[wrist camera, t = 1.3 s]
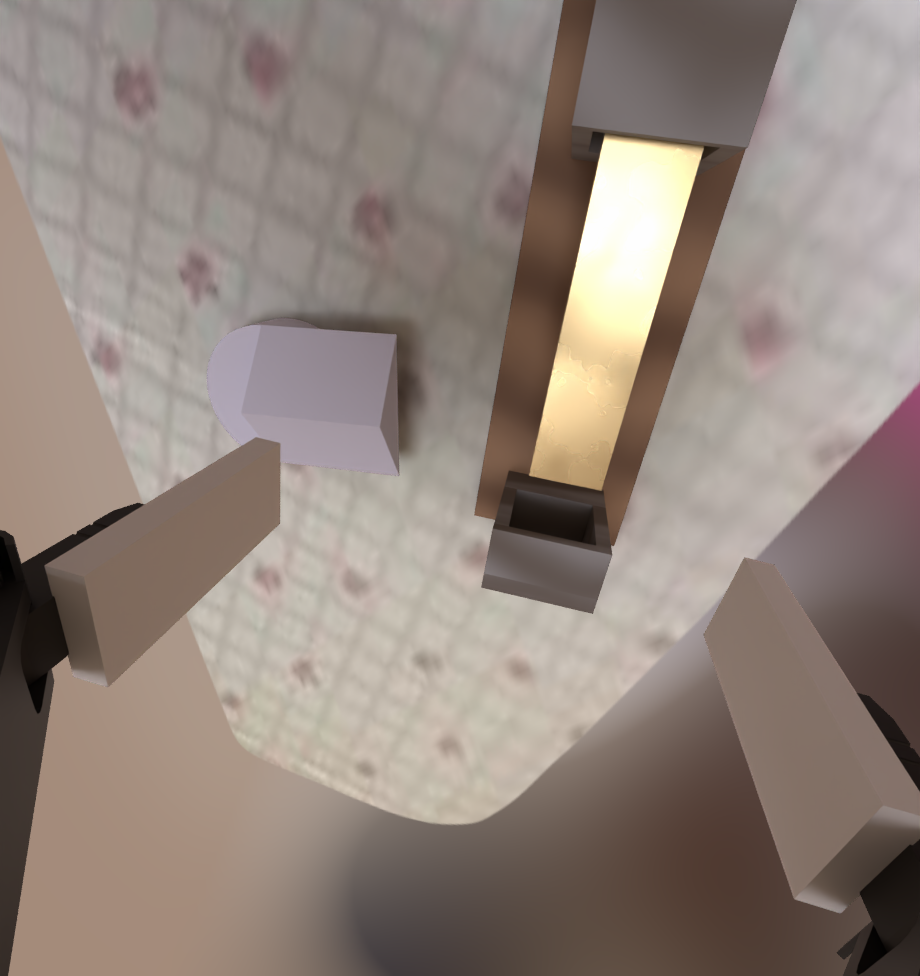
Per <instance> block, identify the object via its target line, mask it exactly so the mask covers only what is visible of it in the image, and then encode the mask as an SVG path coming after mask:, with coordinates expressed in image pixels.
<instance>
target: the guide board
mask: <svg viewBox="0 0 920 976" xmlns="http://www.w3.org/2000/svg"><path fill="white" fill-rule="evenodd" d="M796 1H797V0H564V2H563V8H562V13H561V19H560V25H559V31H558V36H557V42H556V48H555V54H554V59H553V65H552V71H551V77H550V82H549V88H548V94H547V100H546V106H545V111H544V117H543V123H542V129H541V134H540V140H539V146H538V152H537V157H536V163H535V169H534V175H533V180H532V186H531V192H530V198H529V203H528V209H527V215H526V221H525V226H524V232H523V238H522V244H521V249H520V255H519V261H518V267H517V272H516V278H515V284H514V290H513V295H512V301H511V307H510V313H509V319H508V324H507V330H506V336H505V342H504V347H503V353H502V359H501V365H500V370H499V376H498V382H497V388H496V393H495V399H494V405H493V411H492V416H491V422H490V428H489V434H488V439H487V445H486V451H485V457H484V462H483V468H482V474H481V480H480V485H479V491H478V497H477V503H476V509H475V514H474V515H476V516H481V517H485V518H490V519H494V520H495V523H494V526H493V530H492V535H491V540H490V546H489V551H488V556H487V561H486V566H485V571H484V576H483V581H482V586H481V587H482V588H486V589H490V590H495V591H499V592H503V593H507V594H511V595H516V596H520V597H524V598H528V599H533V600H537V601H541V602H545V603H549V604H554V605H558V606H562V607H566V608H571V609H575V610H579V611H583V612H588V613H592V614H593V611H594V608H595V605H596V602H597V599H598V596H599V593H600V590H601V587H602V584H603V581H604V578H605V575H606V572H607V569H608V566H609V563H610V560H611V557H612V550H611V545H612V546H614V545H615V542H616V539H617V536H618V532H619V529H620V526H621V523H622V520H623V517H624V514H625V511H626V508H627V505H628V502H629V499H630V496H631V493H632V490H633V487H634V484H635V481H636V478H637V475H638V472H639V469H640V466H641V463H642V460H643V457H644V454H645V451H646V448H647V445H648V442H649V439H650V436H651V433H652V430H653V427H654V424H655V421H656V418H657V415H658V412H659V409H660V406H661V403H662V400H663V397H664V394H665V391H666V388H667V384H668V381H669V378H670V375H671V372H672V369H673V366H674V363H675V360H676V357H677V354H678V351H679V348H680V345H681V342H682V339H683V336H684V333H685V330H686V327H687V324H688V321H689V318H690V315H691V312H692V309H693V306H694V303H695V300H696V297H697V294H698V291H699V288H700V285H701V282H702V279H703V276H704V273H705V270H706V267H707V264H708V261H709V258H710V255H711V252H712V249H713V246H714V243H715V240H716V237H717V233H718V230H719V227H720V224H721V221H722V218H723V215H724V212H725V209H726V206H727V203H728V200H729V197H730V194H731V191H732V188H733V185H734V182H735V179H736V176H737V173H738V170H739V167H740V164H741V161H742V158H743V155H744V152H745V149H746V148H748V145H749V142H750V139H751V136H752V133H753V130H754V127H755V124H756V121H757V118H758V115H759V112H760V109H761V106H762V103H763V100H764V97H765V94H766V91H767V88H768V85H769V82H770V79H771V76H772V73H773V70H774V67H775V64H776V61H777V58H778V55H779V52H780V49H781V46H782V43H783V40H784V37H785V34H786V31H787V28H788V25H789V22H790V19H791V16H792V13H793V10H794V7H795V4H796ZM604 133H610V134H617V135H625V136H633V137H641V138H649V139H657V140H665V141H672V142H680V143H688V144H696V145H704V149H703V152H702V156H701V159H700V162H699V166H698V169H697V172H696V176H695V179H694V183H693V186H692V189H691V193H690V196H689V199H688V203H687V206H686V209H685V213H684V216H683V219H682V223H681V226H680V229H679V233H678V236H677V239H676V243H675V246H674V249H673V253H672V256H671V259H670V263H669V266H668V269H667V273H666V276H665V279H664V283H663V286H662V289H661V293H660V296H659V299H658V303H657V306H656V309H655V313H654V316H653V320H652V323H651V326H650V330H649V333H648V336H647V340H646V343H645V346H644V350H643V353H642V356H641V360H640V363H639V366H638V370H637V373H636V376H635V380H634V383H633V386H632V390H631V393H630V396H629V400H628V403H627V406H626V410H625V413H624V416H623V420H622V423H621V426H620V430H619V433H618V436H617V440H616V443H615V446H614V450H613V453H612V457H611V460H610V463H609V467H608V470H607V473H606V477H605V480H604V483H603V487H602V490H601V491H600V490H595V489H591V488H586V487H581V486H576V485H571V484H567V483H562V482H557V481H552V480H547V479H543V478H538V477H533V476H529V474H530V468H531V463H532V457H533V452H534V447H535V442H536V438H537V433H538V429H539V424H540V420H541V415H542V411H543V406H544V402H545V397H546V392H547V388H548V383H549V379H550V374H551V370H552V365H553V361H554V356H555V352H556V347H557V343H558V338H559V334H560V329H561V325H562V320H563V316H564V311H565V306H566V302H567V297H568V293H569V288H570V284H571V279H572V275H573V270H574V266H575V261H576V257H577V252H578V248H579V243H580V239H581V234H582V230H583V225H584V221H585V216H586V211H587V207H588V202H589V198H590V193H591V189H592V184H593V180H594V175H595V171H596V166H597V162H598V157H599V153H600V148H601V144H602V139H603V135H604Z"/></svg>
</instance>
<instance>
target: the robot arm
mask: <svg viewBox="0 0 920 976" xmlns="http://www.w3.org/2000/svg"><path fill="white" fill-rule="evenodd" d="M279 524H280V443H278V442H274V441H270V440H266V439H262V438H258V437H255V438H254V439H252V440H250V441H249V442H247V443H245V444H244V445H242V446H240V447H239V448H237V449H236V450H234V451H232V452H231V453H229V454H227V455H226V456H224V457H222V458H221V459H219V460H217V461H216V462H214V463H212V464H211V465H209V466H208V467H206V468H204V469H203V470H201V471H199V472H198V473H196V474H194V475H193V476H191V477H189V478H188V479H186V480H184V481H183V482H181V483H179V484H178V485H176V486H175V487H173V488H171V489H170V490H168V491H166V492H165V493H163V494H161V495H160V496H158V497H156V498H155V499H153V500H151V501H150V502H148V503H147V504H141V503H136V504H133V505H130V506H127V507H123V508H121V509H117V510H114V511H112V512H110V513H108V514H107V515H105V516H103V517H102V518H100V519H98V520H96V521H95V522H94V523H93V525H88V526H86V527H84V528H82V529H81V530H79V531H77V534H76V535H74V534H72V535H70V536H69V537H67V538H65V539H63V540H62V541H60V542H58V543H57V544H55V545H53V546H51V547H50V548H48V549H46V550H45V551H43V552H41V553H39V554H38V555H36V556H35V557H32V558H31V559H29V560H27V561H26V562H24V563H22V564H21V561H20V558H19V554H18V551H17V547H16V544H15V540H14V537H13V536H12V535H10V534H9V533H7V532H6V531H2V530H0V976H8V972H9V966H10V960H11V953H12V947H13V941H14V940H13V939H14V934H15V928H16V921H17V915H18V909H19V902H20V896H21V890H22V883H23V876H24V870H25V864H26V857H27V851H28V845H29V838H30V832H31V826H32V819H33V813H34V807H35V800H36V794H37V787H38V781H39V774H40V768H41V762H42V756H43V749H44V743H45V736H46V730H47V723H48V717H49V711H50V704H51V698H52V692H53V685H54V678H53V673H52V668H53V667H54V666H55V665H57V664H58V663H59V662H60V661H61V660H63V659H64V658H65V657H66V656H67V655H68V658H69V662H70V665H71V669H72V673H73V677H76V678H79V679H82V680H85V681H89V682H92V683H95V684H99V685H102V686H105V687H109V686H110V685H111V684H112V683H113V682H114V681H115V680H116V679H118V677H120V676H121V674H123V673H124V672H125V671H126V670H127V669H128V668H129V667H130V666H131V665H132V664H133V663H134V662H135V661H136V660H137V659H138V658H140V657H141V656H142V655H143V654H144V653H145V652H146V651H147V650H148V649H149V648H150V647H151V646H152V645H153V644H154V643H155V642H156V641H157V640H158V639H159V638H160V637H162V636H163V635H164V634H165V633H166V632H167V631H168V630H169V629H170V628H171V627H172V626H173V625H174V624H175V623H176V622H177V621H178V620H179V619H180V618H181V617H182V616H183V615H185V614H186V613H187V612H188V611H189V610H190V609H191V608H192V607H193V606H194V605H195V604H196V603H197V602H198V601H199V600H200V599H201V598H202V597H203V596H204V595H205V594H207V593H208V592H209V591H210V590H211V589H212V588H213V587H214V586H215V585H216V584H217V583H218V582H219V581H220V580H221V579H222V578H223V577H224V576H225V575H226V574H227V573H229V572H230V571H231V570H232V569H233V568H234V567H235V566H236V565H237V564H238V563H239V562H240V561H241V560H242V559H243V558H244V557H245V556H246V555H247V554H248V553H249V552H251V551H252V550H253V549H254V548H255V547H256V546H257V545H258V544H259V543H260V542H261V541H262V540H263V539H264V538H265V537H266V536H267V535H268V534H269V533H270V532H271V531H273V530H274V529H275V528H276V527H277V526H278V525H279ZM704 638H705V641H706V643H707V646H708V649H709V652H710V655H711V658H712V661H713V664H714V667H715V669H716V673H717V675H718V678H719V681H720V684H721V687H722V690H723V693H724V696H725V699H726V702H727V705H728V708H729V710H730V713H731V716H732V719H733V722H734V725H735V728H736V731H737V734H738V737H739V740H740V742H741V745H742V748H743V751H744V754H745V757H746V760H747V763H748V766H749V769H750V772H751V774H752V777H753V780H754V783H755V786H756V789H757V792H758V795H759V798H760V801H761V804H762V807H763V810H764V812H765V815H766V818H767V821H768V824H769V827H770V830H771V833H772V836H773V838H774V842H775V844H776V847H777V850H778V853H779V856H780V859H781V862H782V865H783V868H784V871H785V873H786V876H787V879H788V882H789V885H790V888H791V891H792V894H793V897H794V899H796V900H799V901H802V902H806V903H809V904H812V905H815V906H819V907H822V908H825V909H828V910H831V911H835V912H838V913H842V912H843V911H844V909H846V908H847V907H848V906H849V905H850V904H851V903H852V902H853V901H854V900H855V899H856V898H857V897H859V896H860V895H861V897H862V899H863V902H864V904H865V906H866V908H867V911H868V913H869V915H870V917H871V920H872V921H871V922H870V923H869V924H868V925H867V926H865V927H864V928H863V929H862V930H861V931H860V932H859V933H857V934H856V935H855V936H854V937H853V938H852V939H851V940H850V941H849V942H847V943H846V944H845V945H844V946H843V947H842V948H841V949H840V950H839V951H838V952H837V954H838V955H840V957H842V958H843V959H845V958H846V957H848V956H849V955H850V954H851V953H852V955H851V957H850V959H849V962H848V964H847V967H846V969H845V972H844V974H843V976H920V757H919V756H918V754H917V753H916V752H915V750H914V749H913V748H910V743H909V741H908V740H907V738H906V737H905V735H904V734H903V732H902V731H901V730H900V728H899V727H898V725H897V724H896V722H895V721H894V719H893V718H892V717H890V715H888V714H887V713H886V712H885V711H884V710H883V709H882V708H881V707H880V706H879V705H878V704H877V703H876V702H875V701H874V700H873V699H872V698H871V697H870V696H867V695H863V694H859V693H856V692H855V690H854V688H853V687H852V685H851V684H850V682H849V681H848V679H847V678H846V676H845V674H844V673H843V671H842V670H841V668H840V667H839V665H838V664H837V662H836V660H835V659H834V657H833V656H832V654H831V653H830V651H829V649H828V648H827V646H826V645H825V643H824V642H823V640H822V639H821V637H820V635H819V634H818V632H817V631H816V629H815V628H814V626H813V624H812V623H811V621H810V620H809V618H808V617H807V615H806V614H805V612H804V610H803V609H802V607H801V606H800V604H799V603H798V601H797V599H796V598H795V596H794V595H793V593H792V592H791V590H790V589H789V587H788V585H787V584H786V582H785V581H784V579H783V578H782V576H781V575H780V573H779V572H778V570H777V568H776V567H775V566H774V565H772V564H769V563H765V562H761V561H757V560H753V559H749V558H745V557H744V559H743V561H742V563H741V565H740V567H739V569H738V571H737V572H736V574H735V576H734V578H733V580H732V582H731V584H730V586H729V588H728V590H727V591H726V593H725V595H724V597H723V599H722V601H721V603H720V605H719V607H718V608H717V610H716V612H715V614H714V616H713V618H712V620H711V622H710V624H709V626H708V627H707V629H706V631H705V633H704Z"/></svg>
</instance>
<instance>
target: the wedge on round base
mask: <svg viewBox="0 0 920 976" xmlns="http://www.w3.org/2000/svg"><path fill="white" fill-rule="evenodd" d="M207 388H208V393H209V398H210V401H211V404H212V407H213V409H214V411H215V414H216V416H217V417H218V419H219V421H220V423H221V424H222V425H223V427H224V428H225V430H226V431H227V432H228V433H229V434H230V435H231V437H232V438H233V439H235V440H236V441H237V442H238V443H239V444H240V445H241V446H242V445H244V444H245V443H247V442H249V441H250V440H252V439H254V438H255V437H258V438H262V439H266V440H270V441H274V442H278V443H280V462H283V463H291V464H300V465H308V466H317V467H326V468H334V469H343V470H351V471H360V472H368V473H377V474H385V475H394V476H399V435H398V383H397V334H383V333H368V332H354V331H340V330H326V329H319V328H317V327H316V326H314V325H312V324H310V323H307V322H305V321H301V320H298V319H292V318H278V319H272V320H268V321H264V322H260V323H256V324H252V325H248V326H244V327H241V328H238V329H235V330H233V331H232V332H230V333H228V334H227V335H226V336H225V337H223V338H222V339H221V340H220V342H219V343H218V344H217V345H216V347H215V349H214V350H213V352H212V354H211V357H210V360H209V364H208V369H207Z"/></svg>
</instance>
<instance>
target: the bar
mask: <svg viewBox="0 0 920 976" xmlns="http://www.w3.org/2000/svg"><path fill="white" fill-rule="evenodd" d="M703 149H704V145H696V144H688V143H680V142H672V141H665V140H657V139H649V138H641V137H633V136H625V135H617V134H610V133H604V135H603V139H602V144H601V148H600V153H599V157H598V162H597V166H596V171H595V175H594V180H593V184H592V189H591V193H590V198H589V202H588V207H587V211H586V216H585V221H584V225H583V230H582V234H581V239H580V243H579V248H578V252H577V257H576V261H575V266H574V270H573V275H572V279H571V284H570V288H569V293H568V297H567V302H566V306H565V311H564V316H563V320H562V325H561V329H560V334H559V338H558V343H557V347H556V352H555V356H554V361H553V365H552V370H551V374H550V379H549V383H548V388H547V392H546V397H545V402H544V406H543V411H542V415H541V420H540V424H539V429H538V433H537V438H536V442H535V447H534V452H533V457H532V463H531V468H530V474H529V476H533V477H538V478H543V479H547V480H552V481H557V482H562V483H567V484H571V485H576V486H581V487H586V488H591V489H595V490H600V491H601V490H602V487H603V483H604V480H605V477H606V473H607V470H608V467H609V463H610V460H611V457H612V453H613V450H614V446H615V443H616V440H617V436H618V433H619V430H620V426H621V423H622V420H623V416H624V413H625V410H626V406H627V403H628V400H629V396H630V393H631V390H632V386H633V383H634V380H635V376H636V373H637V370H638V366H639V363H640V360H641V356H642V353H643V350H644V346H645V343H646V340H647V336H648V333H649V330H650V326H651V323H652V320H653V316H654V313H655V309H656V306H657V303H658V299H659V296H660V293H661V289H662V286H663V283H664V279H665V276H666V273H667V269H668V266H669V263H670V259H671V256H672V253H673V249H674V246H675V243H676V239H677V236H678V233H679V229H680V226H681V223H682V219H683V216H684V213H685V209H686V206H687V203H688V199H689V196H690V193H691V189H692V186H693V183H694V179H695V176H696V172H697V169H698V166H699V162H700V159H701V156H702V152H703Z"/></svg>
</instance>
